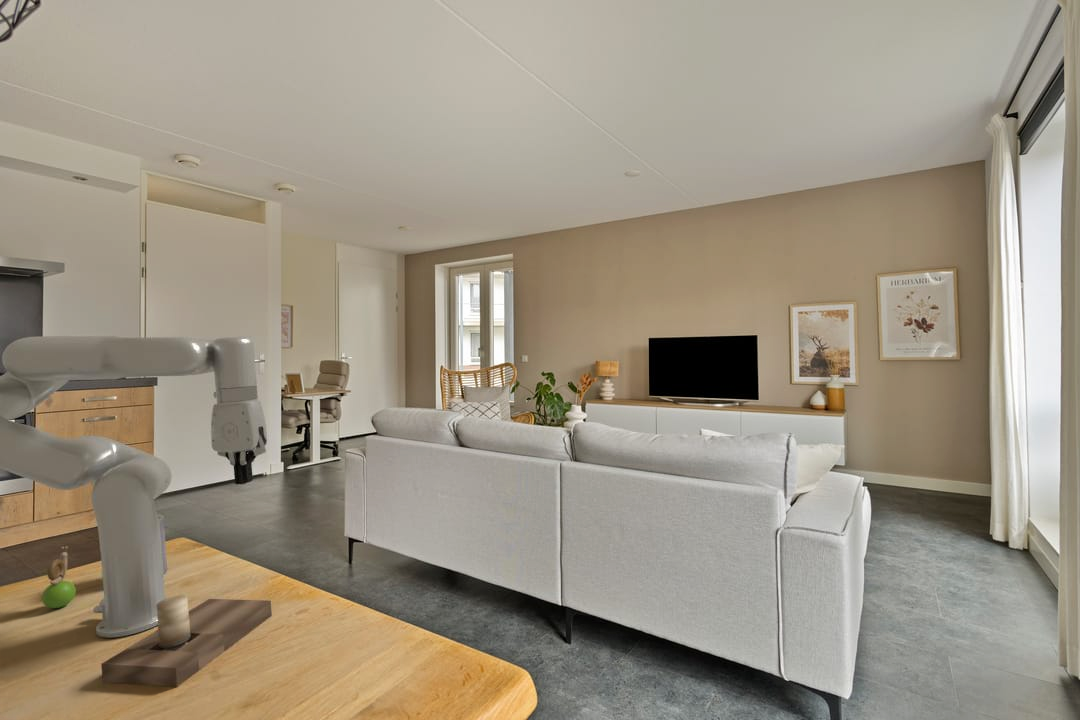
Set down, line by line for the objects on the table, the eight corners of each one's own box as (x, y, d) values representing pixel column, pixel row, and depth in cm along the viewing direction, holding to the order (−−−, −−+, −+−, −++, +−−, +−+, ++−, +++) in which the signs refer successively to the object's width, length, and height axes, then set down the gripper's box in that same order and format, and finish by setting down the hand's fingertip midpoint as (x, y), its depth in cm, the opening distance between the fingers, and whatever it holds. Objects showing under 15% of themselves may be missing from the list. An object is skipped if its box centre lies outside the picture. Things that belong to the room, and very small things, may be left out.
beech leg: (153, 665, 89) (149, 607, 89) (176, 650, 94) (172, 594, 93) (176, 667, 88) (172, 608, 88) (198, 651, 93) (194, 595, 93)
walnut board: (102, 682, 85) (101, 663, 85) (210, 613, 107) (209, 598, 107) (177, 686, 83) (175, 668, 83) (271, 615, 105) (270, 600, 104)
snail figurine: (84, 596, 119) (79, 544, 118) (68, 609, 112) (64, 554, 112) (54, 601, 117) (49, 548, 117) (37, 615, 111) (32, 558, 111)
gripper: (191, 399, 108) (199, 488, 109) (255, 396, 106) (262, 487, 106) (220, 395, 116) (227, 478, 116) (280, 392, 113) (287, 477, 113)
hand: (244, 482), depth 111 cm, fingers closed
